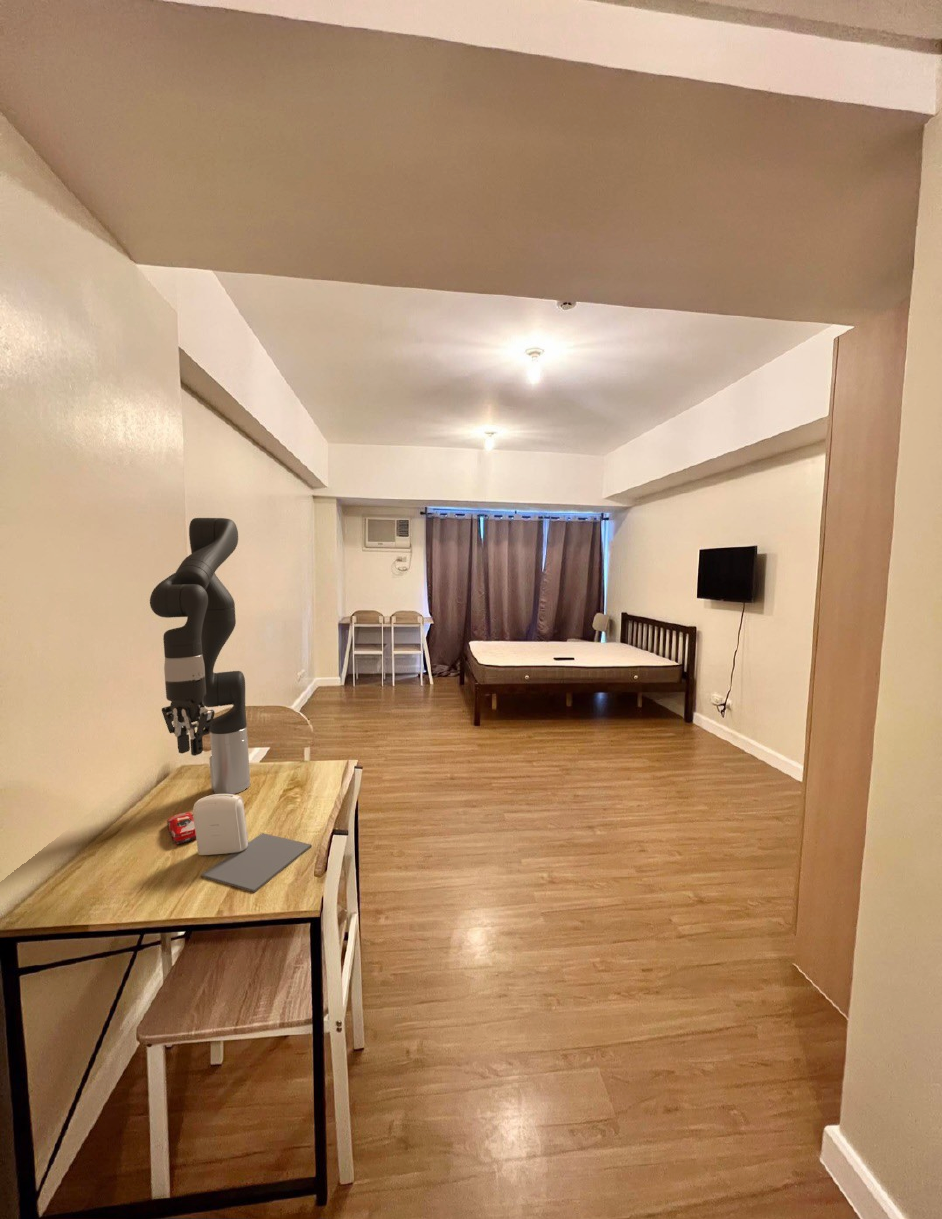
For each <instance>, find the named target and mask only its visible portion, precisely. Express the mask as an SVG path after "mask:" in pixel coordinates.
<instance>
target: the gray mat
mask: <svg viewBox="0 0 942 1219" xmlns="http://www.w3.org/2000/svg"><path fill="white" fill-rule="evenodd" d="M311 848H312V843H306V842H302V841H297V840H294V839H289V838H285V837H281V836H276V835H273V834H268V833H264V832H261V834H259V835H257V836H256V837H254V838H252V840H250V841H248V846H247V848H246V849H245V850H243V851H240V852H234V853H229V855H227V856H226V857H225V858H223V859H221V860H220V861H218V862H217V863H216V864H214V865H213V866H211V867H209V868H208V869H207V870H205V871H203V872H202V873H201V874H200V877H201V878H204V877H205V878H204V879H207V878H209V879H208V880H211V881H214V882H218V883H221V884H225V885H227V886H232V887H235V888H238V889H242V890H244V891H248V892H252V893H256V892H257V891H259V890H260V889H261V888H262V887H264V886H265V885H266V884H267V883H269V881H271V880H272V879H274V877H276V876H277V875H278V874H279V873H281V872H282V871H283V870H285V869H286V868H287V867H288V866H289V865H291V864H292V863H293V862H294V861H296V860H297V859H299V857H301V856H302V855H303V854H304V853H306V852H307V851H308V850H309V849H311Z"/></svg>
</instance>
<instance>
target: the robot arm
mask: <svg viewBox="0 0 942 1219" xmlns="http://www.w3.org/2000/svg"><path fill="white" fill-rule="evenodd" d="M188 537H189V544H190V546H189V547H190V552H191V553H190V554H188V556H186V557H185V558H184V559H183V560H182V561H181V563H180V564H179V565H178V568H177V569H176V571H175V572H174V573H172V574H171V575H169V576H168V577H166V578H165V579H163V580H162V581H160V582H159V583H157V585H156V586H155V588H153V590H152V591H151V595H150V596H149V606H150V609H151V611H152V612H153V613H154V614H155V615H156V616H158V617H161V618H166V619H169V618H170V619H171V618H187V619H186V622H185V623H184V625H183V626H180V627H176V628H171V629H168V630H166V631H165V632H164V634H163V638H162V640H163V649H164V650H163V651H164V652H163V653H164V667H163V669H164V681H165V682H164V685H165V698H166V700H167V701H169V702H170V705H168V706H164V707H162V708H161V713H162V715H163V718H164V721H165V722H164V723H165V724H166V727H167V730H168V732H169V733H170V734H174V737H176V740H177V741H176V742H177V749H178V753H179V754H182V755H183V754H184V753H188V752H189V751H190V754H191V756H192V757H193V756H195V757H196V756H198V755H200V754H202V753H203V751H204V747H203V746H204V743H203V737H204V736H207V735H209V739H210V750H211V753H210V754H211V756H210V757H209V770H210V771H209V774H210V786H211V787H210V789H211V791H213V792H214V795H215V794H233V795H236V794H239V793H241V792H244V791H246V790H247V789H249V788H250V786H251V772H250V756H249V744H248V743H249V740H248V739H249V738H248V728H247V727H248V725H247V724H248V723H247V714H246V713H247V712H246V711H247V710H246V678H245V675H244V673H243V672H242V671H241V670H233V671H231V670H230V671H221V672H214V667H215V665H216V661H217V659H218V657H219V656H220V653H221V651H222V650H223V647H224V646H225V644H226V643H227V642H228V640H229V638H230V637H231V635H232V634H233V631H234V630H235V628H236V622H237V620H236V608H235V607H236V606H235V604H236V602H235V600H234V598H233V596H232V594H231V593H230V592H229V590H228V589H227V588H226V586H225V585H224V584H223V583H222V581H221V580H220V579H219V577H218V576H217V574H216V573H215V572H216V571H217V570H218V568H220V566H221V565H222V564H223V563H224V562H225V561H226V560H227V559H228V558H230V556H231V555H232V554H233V552H235V550H236V549H237V546H238V544H239V531H238V526H237V524H236V523H235V521H233V520H232V519H230V518H227V517H194V518H192V520H190V523H189V527H188ZM230 705H231V706H232V707H231V708H230V709H229V710H228V711H226V712H225V713H223V714H221V715H218V716H216V717H215V713H216V712H215V710H214V709H210V710H208V709H207V708H216V707H217V708H218V707H225V706H230ZM195 728H197V729H195ZM246 788H247V789H246ZM245 789H246V790H245Z"/></svg>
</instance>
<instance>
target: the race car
mask: <svg viewBox="0 0 942 1219" xmlns="http://www.w3.org/2000/svg"><path fill="white" fill-rule="evenodd" d="M166 823H167V828H168V831H169V833H170V834H169V835H170V836H171V840H172V841H173V844H175V845H180V844H181V845H182V844H183V843H187V842H190V841H193V840H196V832H195V825H194V817H193V813H191V812H180V813H177V814H173V816H170V817H169V818H168V819H167V822H166Z"/></svg>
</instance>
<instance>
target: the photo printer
mask: <svg viewBox="0 0 942 1219" xmlns="http://www.w3.org/2000/svg"><path fill="white" fill-rule="evenodd" d="M245 813H246V812H245V804H244V800H243V797H242V796H240V795H237V794H215V793H214V794H210V795H207V796H203V797H202V798H199V799H198V800H197V801H195V802H194V805H193V808H192V814H193V818H194V825H195V832H196V838H195V840H196V845H197V852H198V853H197V854H198V856H210V855H223V854H232V853H234V852H240V851H243V850H245V849H246V848H247V846H248V842H249V836H248V829H247V827H248V826H247V820H246V814H245Z"/></svg>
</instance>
